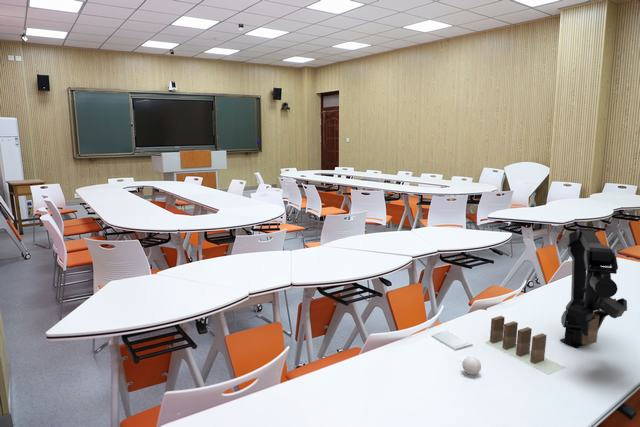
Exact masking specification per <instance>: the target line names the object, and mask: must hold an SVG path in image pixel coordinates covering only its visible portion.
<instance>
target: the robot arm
mask: <svg viewBox="0 0 640 427" xmlns="http://www.w3.org/2000/svg"><path fill="white" fill-rule="evenodd" d="M601 242H602V241H600V239H599V238H598V236H597V234H596V229H594V228H589V227H588V228H587V227H586V228H585V227H580V228H577V230H575V231H573V232H570V233H568V235H567V237H566V238H565V247H566V248H567V253H568V256H570V258H571V288H570V289H571V292H570V300H569V302H568V303H567V304H566V305H565V310H564V311H563V313H562V315H561V318H560V323H561V325H562V327H563V328H564V329H565V331H564V336H563V338H560V340H559V341H560V342H562V343H565V344H567V345H569V346H571V347H573V348H580V347H582V346H586V345H585V344H582V342H583V335H585V336H588V333H589V329H590V325H591V322H592V321H593V320H595V319H596V318H594V317H593V314H597V315H600V317H599V326H598V331H599V330H600V328H601V326H602V324H603V322H604V320H605V318H607V317H608V316H609V317H610V318H613V319H617V318H619V317H622V316H623V314H624V313H625V312H626V311H628V300H627V299H625V298H623V297H621V298H618V299H616V298H612V297H614V296H615V295H616V294H617V292H618V285H617V283H616V282H615V281H614V280H613V279H612V274H614V275H616V274H617V271H618V269H619V266H618V260H617V256H616V253H615V252H614V251H613V249H612V248H611V247H610V246H608V245H605V244H603V243H601Z"/></svg>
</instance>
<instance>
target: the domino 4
mask: <svg viewBox="0 0 640 427" xmlns="http://www.w3.org/2000/svg"><path fill="white" fill-rule="evenodd" d="M546 346H547V334H545V333H538V334H536V335H533V336H532V335H531V346H530V351H531V358H530V362H531V363H533V364H536V363H539V362H541V361H544V357H545V356H546V355H545V354H546ZM545 358H546V357H545Z"/></svg>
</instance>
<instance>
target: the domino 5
mask: <svg viewBox="0 0 640 427" xmlns="http://www.w3.org/2000/svg"><path fill="white" fill-rule="evenodd" d="M593 317H594V318H596V319H595V320H593V321H592V322H591V325H590V329H589V333H588V336H585V335H583V342H582V344H585V345H584V346H590V345H592V344H596V343H597V340H598V332H599V330H598V326H599V317H600V315H597V314H593Z"/></svg>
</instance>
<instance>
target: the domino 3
mask: <svg viewBox="0 0 640 427" xmlns="http://www.w3.org/2000/svg"><path fill="white" fill-rule="evenodd" d="M532 329H533V328H531V327H528V326H527V327H523V328H520V329H517V338H516V344H517V347H516V355H517V356H519V357H521V356H524V355H526V354H529V353H530V351H531V344H532V331H533V330H532Z"/></svg>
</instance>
